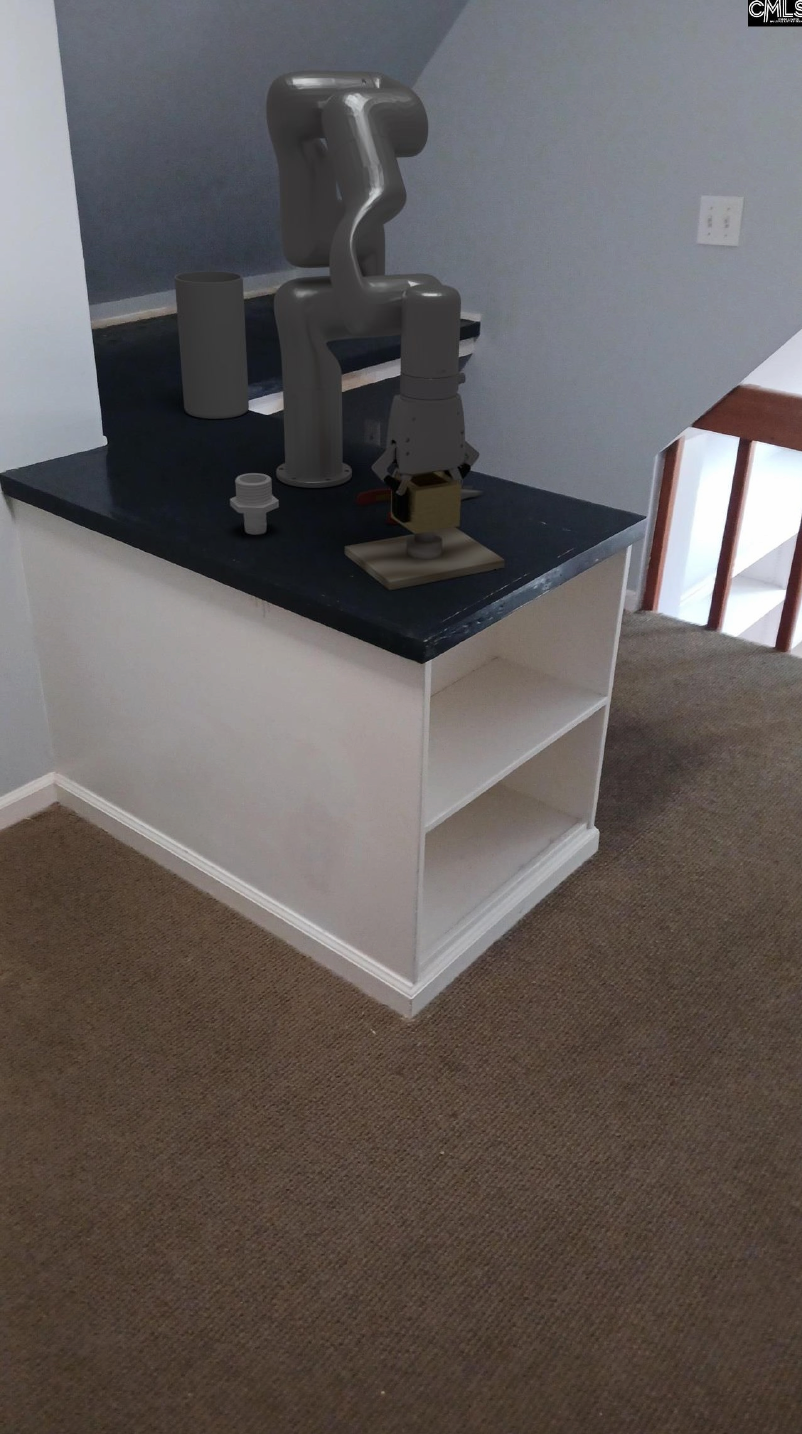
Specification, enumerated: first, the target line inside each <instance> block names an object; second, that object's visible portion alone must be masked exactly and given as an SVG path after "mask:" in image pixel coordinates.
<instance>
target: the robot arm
mask: <svg viewBox="0 0 802 1434" xmlns="http://www.w3.org/2000/svg"><path fill="white" fill-rule="evenodd" d="M265 103H266V104H265V106H266V108H265V111H266V125H267V128H268V133H269V137H270V140H271V145H272V147H273V150H274V153H275V158H276V159H275V160H276V163H277V168H278V169H277V170H278V177H279V179H278V180H279V184H278V185H279V187H278V189H279V210H280V213H279V214H280V235H281V245H282V251H283V255H284V258H285V260H286V261H287V262H288V263H289V264H290V265H291V266H294V267H295V268H296V267H297V268H302V269H303V268H304V269H319V268H320V269H321V268H325V269H326V268H329V275H320V276H319V275H318V276H317V275H316V276H315V275H314V276H303V277H298V278H292V279H290V280H288V281H286V282H284V283H282V284H281V285H280V286H279V287H278V289H277V290H276V292H275V295H274V298H273V312H274V318H275V324H276V329H277V335H278V338H279V346H280V347H279V348H280V354H281V355H280V356H281V357H280V358H281V373H282V375H281V377H282V378H281V379H282V397H283V398H282V401H283V403H282V404H283V406H282V407H283V430H284V447H283V448H284V458H285V460H284V463H281V464H280V465H279V466H278V467H277V468H276V471H275V474H276V478H277V480H278V481H280V482H281V483H283V484H286V485H289V486H293V487H296V488H307V489H319V488H320V489H321V488H331V487H335V486H339V485H341V484H342V485H343V484H345V483H347V482H348V481H349V480H350V479H351V478H352V475H353V474H352V473H353V469H352V468H351V466H350V465H348V464H347V463H344V462H343V376H342V375H343V373H342V368H341V366H340V363H339V361H338V359H337V358H336V356H335V355H334V354H333V352H331V350H330V349H329V347H328V346H327V343H329V342H331V341H336V340H347V339H359V338H364V339H365V338H366V339H368V338H378V337H390V336H400V338H401V339H400V373H399V374H400V378H399V379H400V381H399V394H395V395H394V396H393V399H392V403H391V407H390V412H389V413H390V414H389V418H388V423H387V424H388V426H387V434H386V446H385V451H384V452H383V454H381V456H379V458H378V459H377V460H376V461H375V462H374V463H373V464H372V465H371V470H372V471H373V472H374V474H375V475H376V476H377V477H378V479H380V481H381V482H383V484H384V485H386V487H388V488H389V489H391V490H392V513H393V515H394V517H395V518H397V519H398V520H399V521H401V522H402V523H407V521H408V495H407V494H406V493H405V491H406V489H407V487H408V485H409V482H410V480H411V478H412V476H413V475H418V474H425V473H432V472H438V471H441V472H442V473H444V474H446V475H447V476H449V477H451V478H452V479H454V480H456V481H457V482H459V483H461V486H463V482H464V479H465V477H466V476H467V475H468V474H469V473H470V472H471V469H472V468H471V467H473V466H474V464H475V463H476V462H477V460H478V459H479V458H480V453H479V451H478V450H477V449H475V448H474V447H473V446H472V445H471V444H470V443H468V441H466V425H465V415H464V408H463V401H462V397H461V396H462V395H461V394H460V393H458V392H459V386H460V384H464V383H465V382H466V379H467V378H466V375H465V373H464V372H460V371H459V362H460V361H459V359H460V339H461V337H460V336H461V315H462V314H461V312H462V298H461V295H460V293H459V291H458V289H456V288H454V287H453V286H450V285H447V284H442V282H441V281H440V280H439V279H438V278H437V277H435V276H434V275H431V274H428V273H407V274H405V273H404V274H403V273H402V274H401V273H400V274H399V273H398V274H397V273H396V274H386V233H385V225H386V224H387V223H389V222H390V221H392V220H393V219H395V218H396V216H398V215H399V214H400V212H401V211H402V210H403V209H404V207H405V205H406V203H407V200H408V199H407V196H408V195H407V189H406V186H405V183H404V180H403V177H402V172H401V169H400V165H399V162H398V158H413V157H416V156H418V155H420V154H421V153H422V152H423V150H424V149H425V147H426V144H427V142H428V138H429V137H428V136H429V119H428V114H427V110H426V108H425V106H424V104H423V101H422V100H421V98H420V97H419V95H418V94H417V93H416V92H415V91H414V90H413V89H411V88H410V87H409V86H407V85H406V84H404V83H401V82H399V81H398V80H396V79H394V78H392V77H391V76H388V75H386V74H384V73H381V72H376V71H363V70H362V71H359V70H358V71H357V70H356V71H355V70H354V71H350V70H349V71H348V70H345V71H344V70H342V71H341V70H299V71H292V72H287V73H283V74H282V75H280V76H278V77H276V78H275V79H274V80H273V81H272V83H271V84H270V86H269V89H268V92H267V96H266V102H265ZM321 139H324V140H325V143H326V145H325V144H324V143H323V141H322V140H321ZM337 187H338V188H337ZM337 189H338V191H339V193H340V197H341V199H339V197H338V194H337ZM389 467H390V468H395V469H394V470H393V473H392V474H390V473H389V472H388V468H389Z"/></svg>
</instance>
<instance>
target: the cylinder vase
mask: <svg viewBox="0 0 802 1434" xmlns="http://www.w3.org/2000/svg"><path fill="white" fill-rule="evenodd" d="M243 277H244V276H243V275H242V274H240V273H235V272H230V271H219V270H217V271H216V270H201V271H190V272H189V271H187V272H182V273H178V274H176V275H174V287H175V300H176V301H175V302H176V314H177V315H176V316H177V327H178V329H177V330H178V340H179V342H178V343H179V353H180V367H181V382H182V393H183V395H182V396H183V408H184V410H185V411H184V412H186V413H187V414H188V415H190V416H192V417H195V418H200V419H207V420H208V419H209V420H220V419H222V420H223V419H231V418H236V417H239V416H242V415H244V414H246V413H247V412H248V410H249V407H250V404H249V403H250V401H249V383H248V382H249V381H248V379H249V377H248V362H247V361H248V360H247V341H246V340H247V339H246V321H245V320H246V317H245V300H244V299H245V298H244V297H245V296H244V294H245V293H244V278H243Z"/></svg>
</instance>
